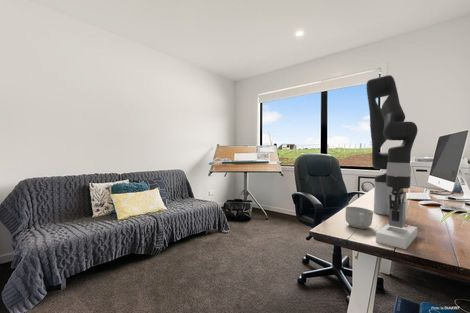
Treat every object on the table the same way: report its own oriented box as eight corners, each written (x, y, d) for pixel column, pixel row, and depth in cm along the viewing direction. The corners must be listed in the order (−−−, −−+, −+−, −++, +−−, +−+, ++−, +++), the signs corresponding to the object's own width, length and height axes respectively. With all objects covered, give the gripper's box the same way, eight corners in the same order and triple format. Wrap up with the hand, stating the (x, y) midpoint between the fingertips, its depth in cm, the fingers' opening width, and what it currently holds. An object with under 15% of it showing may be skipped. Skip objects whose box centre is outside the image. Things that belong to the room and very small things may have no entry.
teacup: (346, 221, 112) (346, 204, 111) (373, 225, 106) (373, 208, 106) (342, 229, 100) (343, 210, 99) (372, 234, 94) (373, 214, 94)
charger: (391, 223, 92) (392, 195, 92) (404, 225, 89) (405, 196, 89) (388, 225, 89) (389, 196, 89) (402, 228, 86) (403, 198, 86)
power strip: (390, 230, 100) (390, 220, 100) (417, 235, 94) (417, 225, 93) (375, 241, 86) (376, 230, 86) (405, 249, 80) (405, 237, 80)
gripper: (391, 173, 96) (390, 214, 97) (381, 174, 87) (379, 221, 87) (414, 174, 91) (413, 218, 91) (406, 176, 81) (404, 226, 81)
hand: (396, 219), depth 89 cm, fingers closed on charger, 4 cm apart
